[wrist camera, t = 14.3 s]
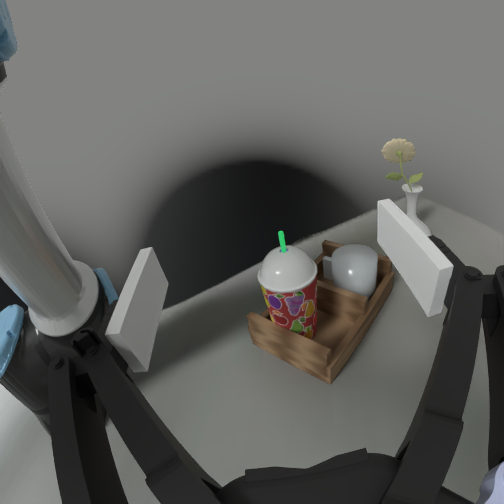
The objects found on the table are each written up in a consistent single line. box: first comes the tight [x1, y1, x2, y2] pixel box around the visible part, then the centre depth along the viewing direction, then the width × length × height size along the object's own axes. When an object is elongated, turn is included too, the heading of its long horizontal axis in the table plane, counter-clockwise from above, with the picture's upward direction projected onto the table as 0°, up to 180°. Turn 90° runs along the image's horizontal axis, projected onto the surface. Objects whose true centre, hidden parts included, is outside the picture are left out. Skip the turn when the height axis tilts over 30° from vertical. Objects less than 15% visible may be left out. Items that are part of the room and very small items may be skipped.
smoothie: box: [258, 231, 317, 340], centre depth 43 cm, size 8×8×20 cm
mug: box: [323, 244, 378, 304], centre depth 51 cm, size 10×8×9 cm
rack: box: [247, 240, 394, 384], centre depth 50 cm, size 16×24×8 cm, turn 138°
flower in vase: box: [382, 138, 432, 237], centre depth 59 cm, size 13×11×25 cm
